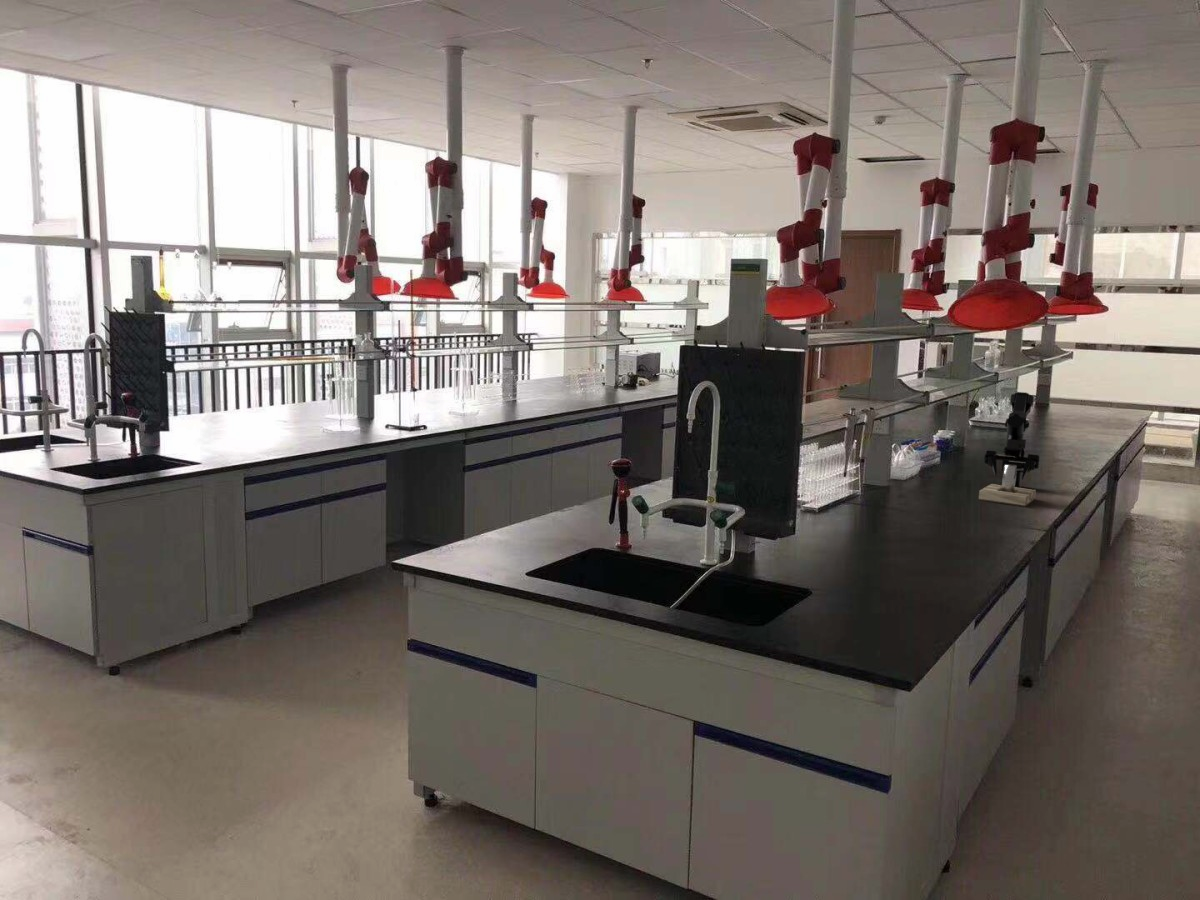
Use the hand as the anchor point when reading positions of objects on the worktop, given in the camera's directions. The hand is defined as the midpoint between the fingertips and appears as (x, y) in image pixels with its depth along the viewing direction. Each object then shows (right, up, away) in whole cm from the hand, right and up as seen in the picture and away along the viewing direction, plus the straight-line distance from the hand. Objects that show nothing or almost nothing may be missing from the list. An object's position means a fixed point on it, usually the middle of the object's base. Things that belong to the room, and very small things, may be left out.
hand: (1008, 477), depth 342 cm
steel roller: (0, -8, +3) cm, 8 cm away
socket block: (0, -8, +3) cm, 9 cm away
